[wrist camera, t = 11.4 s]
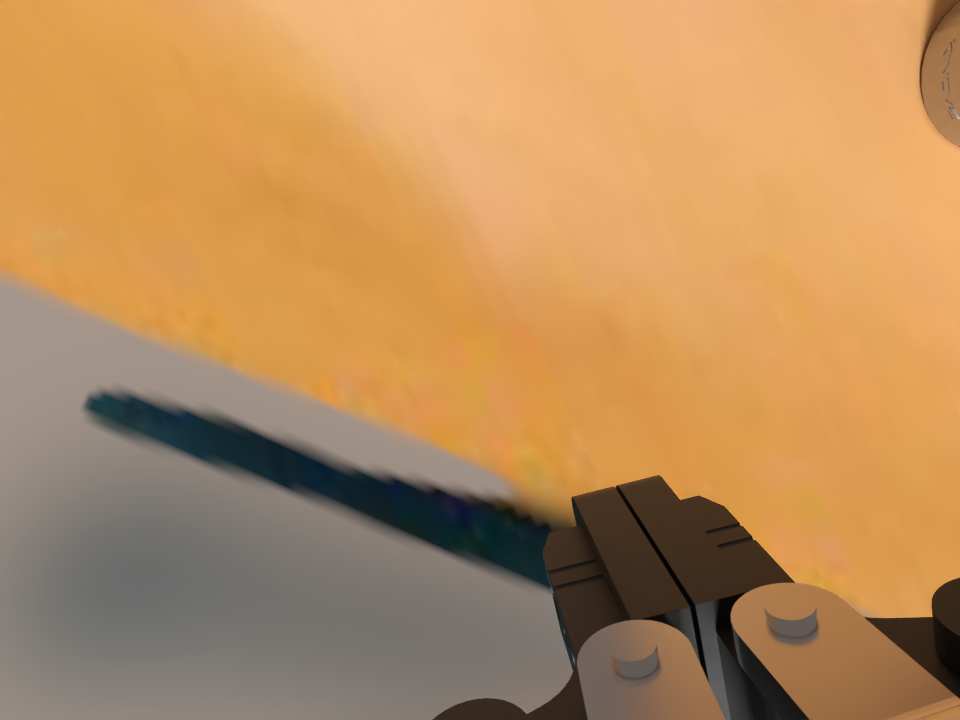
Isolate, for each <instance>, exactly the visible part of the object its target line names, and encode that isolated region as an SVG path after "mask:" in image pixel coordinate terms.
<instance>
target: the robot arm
mask: <svg viewBox="0 0 960 720" xmlns="http://www.w3.org/2000/svg"><path fill="white" fill-rule="evenodd" d="M921 88H922V94H923V100H924V105H925V107H926V110H927V112H928V115H929V117H930V120H931V121H932V123H933V124H934V125H935V127H936V128H937V130H938V131H939V132H940V133H941V134H942V135H943V136H944V137H945V138H946V139H948V140H949V141H950V142H951V143H953V144H955V145H957V146H959V147H960V1H959V2H958V3H956V4H955V6H954V7H953V8H952V9H951V10H950V11H949V12H948V13H947V14H946V15H945V16H944V17H943V19H942V21H941V22H940V24H939V25H938V27H937V28H936V30H935V32H934V33H933V35H932V38H931V40H930V42H929V45H928V47H927V50H926V53H925V58H924V62H923V67H922V84H921ZM572 506H573V511H574V516H575V521H576V525H577V526H576V527H572V528H568V529H564V530H560V531H556V532H552V533H550V534H549V536H548V539H547V541H546V544H545V547H544V549H543V552H542V553H543V557H544V561H545V565H546V570H547V574H548V578H549V583H550V587H551V591H552V595H553V600H554V604H555V608H556V612H557V617H558V621H559V625H560V629H561V633H562V636H563V640H564V643H565V646H566V649H567V653H568V656H569V659H570V662H571V666H572V669H573V674H572V676H571V678H570V680H569V682H568V683H567V684H566V686H565V687H564V688H563V689H562V691H561V692H560V693H559V694H558V695H556V696H555V697H554V698H553V699H552V700H550V701H549V702H547V703H546V704H544V705H543V706H541V707H539V708H537V709H536V710H534V711H532V712H530V713H529V714H526V713H525V712H524V711H523V710H522V709H520V708H519V707H517V706H516V705H514V704H512V703H510V702H507V701H504V700H499V699H489V698H485V699H475V700H471V701H466V702H463V703H460V704H457V705H455V706H453V707H451V708H449V709H447V710H445V711H444V712H442V713H441V714H439V715H438V716H437V717H435V718H434V719H433V720H960V578H958V579H954V580H952V581H949V582H947V583H945V584H944V585H942V586H941V587H939V588H938V590H937V591H936V592H935V593H934V595H933V598H932V615H933V617H920V618H867V617H863V616H862V615H861V614H859V613H858V612H857V611H856V610H855V609H854V608H852V607H851V606H850V605H849V604H848V603H847V602H845V601H844V600H843V599H841V598H840V597H839V596H837V595H835V594H834V593H832V592H830V591H828V590H825V589H822V588H820V587H816V586H812V585H807V584H801V583H795V582H794V581H793V580H792V579H791V578H790V577H789V576H788V575H787V573H786V572H785V571H784V570H783V569H782V568H781V567H780V566H779V565H778V564H777V563H776V562H775V561H774V559H773V558H772V557H771V556H770V555H769V554H768V553H767V552H766V551H765V550H764V549H763V548H762V547H761V545H760V544H759V543H758V542H757V541H756V540H753V538H752V536H751V535H750V534H749V533H748V531H747V530H746V529H745V528H744V527H743V526H740V523H739V522H738V521H737V520H736V519H735V517H734V516H733V515H732V514H731V513H730V512H729V511H728V510H727V509H726V508H725V507H724V506H722V505H720V504H717V503H715V502H713V501H710V500H708V499H706V498H704V497H701V496H695V497H691V498H687V499H683V500H680V499H679V498H678V497H677V496H676V494H675V493H674V492H673V491H672V489H671V488H670V487H669V486H668V485H667V483H666V482H665V481H664V480H663V478H662V477H661V476H659V475H657V476H653V477H649V478H645V479H641V480H637V481H633V482H629V483H625V484H621V485H617V486H616V488H615V487H610V488H606V489H602V490H598V491H594V492H590V493H586V494H582V495H578V496H574V497H572Z"/></svg>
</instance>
